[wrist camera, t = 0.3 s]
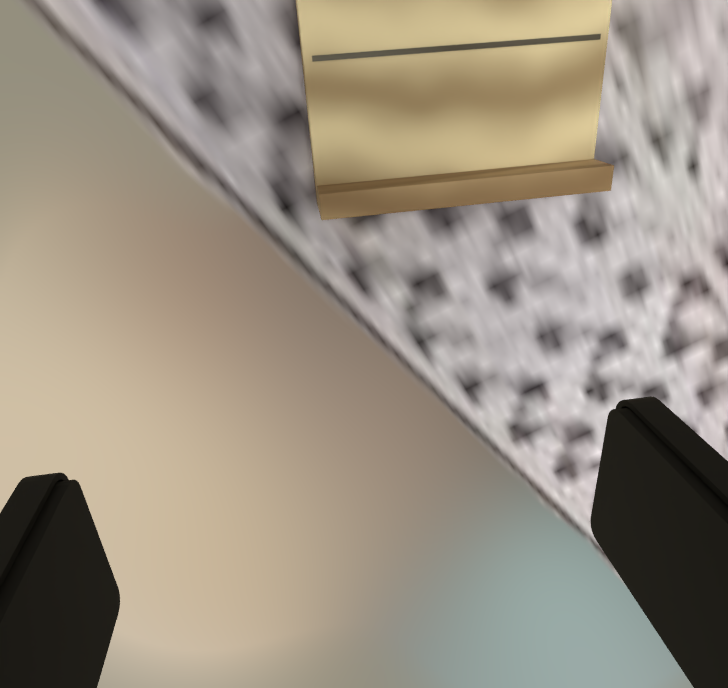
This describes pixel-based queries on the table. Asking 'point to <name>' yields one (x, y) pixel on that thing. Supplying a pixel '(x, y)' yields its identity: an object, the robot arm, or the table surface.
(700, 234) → the table surface
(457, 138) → the board
